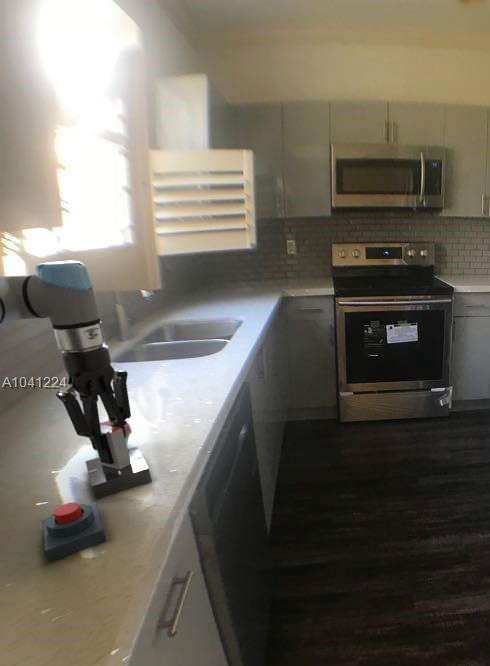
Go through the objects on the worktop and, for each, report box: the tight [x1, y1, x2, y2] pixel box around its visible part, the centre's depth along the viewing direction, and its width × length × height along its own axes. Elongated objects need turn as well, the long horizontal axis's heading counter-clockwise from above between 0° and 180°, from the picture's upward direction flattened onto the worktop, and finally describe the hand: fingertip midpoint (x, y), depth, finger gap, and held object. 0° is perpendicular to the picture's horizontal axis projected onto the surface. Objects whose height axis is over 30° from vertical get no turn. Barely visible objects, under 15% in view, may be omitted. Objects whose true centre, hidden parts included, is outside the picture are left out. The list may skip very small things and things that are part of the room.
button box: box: [42, 501, 107, 563], centre depth 77 cm, size 10×8×4 cm
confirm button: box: [53, 501, 82, 524], centre depth 76 cm, size 4×4×2 cm
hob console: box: [85, 446, 153, 500], centre depth 94 cm, size 12×10×3 cm
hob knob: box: [96, 425, 131, 470], centre depth 92 cm, size 6×3×8 cm, turn 68°
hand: (114, 458), depth 93 cm, fingers closed on hob knob, 3 cm apart
